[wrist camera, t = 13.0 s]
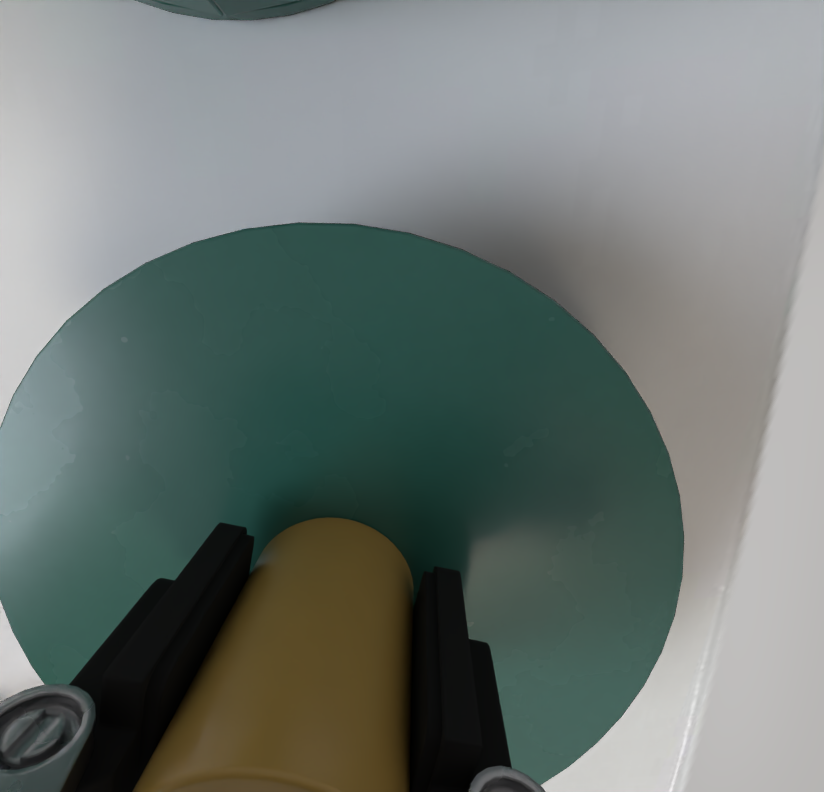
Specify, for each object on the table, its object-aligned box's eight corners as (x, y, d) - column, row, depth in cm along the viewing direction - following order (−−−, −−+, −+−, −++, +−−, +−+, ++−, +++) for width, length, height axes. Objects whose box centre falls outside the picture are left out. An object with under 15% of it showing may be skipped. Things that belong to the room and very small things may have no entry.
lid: (764, 319, 10) (1317, 414, 4) (551, 830, 15) (654, 1280, 8) (30, 146, 10) (-721, -71, 3) (23, 734, 14) (-318, 1144, 7)
